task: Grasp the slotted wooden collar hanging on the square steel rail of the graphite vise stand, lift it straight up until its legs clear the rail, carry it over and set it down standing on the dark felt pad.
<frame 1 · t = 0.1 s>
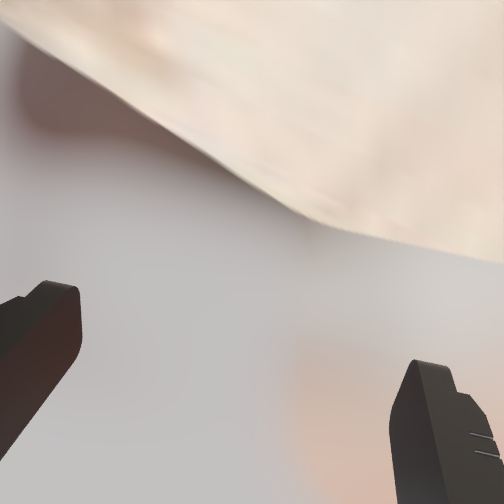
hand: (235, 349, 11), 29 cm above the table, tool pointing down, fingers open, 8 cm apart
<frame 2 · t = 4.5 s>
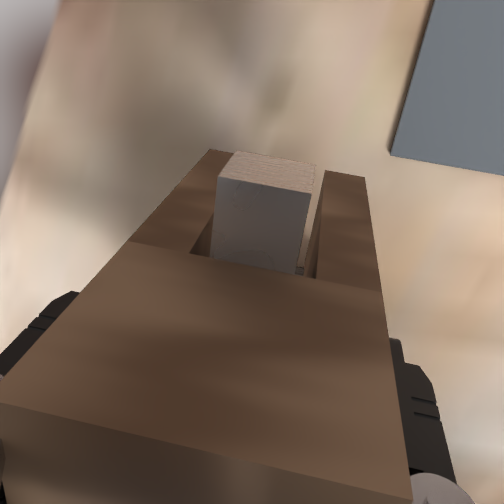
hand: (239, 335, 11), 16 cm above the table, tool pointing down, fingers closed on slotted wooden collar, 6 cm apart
felt pad: (495, 88, 22), on the table
slotted wooden collar: (277, 210, 18), point 8 cm above the table, touching gripper, vise stand
vise stand: (265, 313, 31), on the table
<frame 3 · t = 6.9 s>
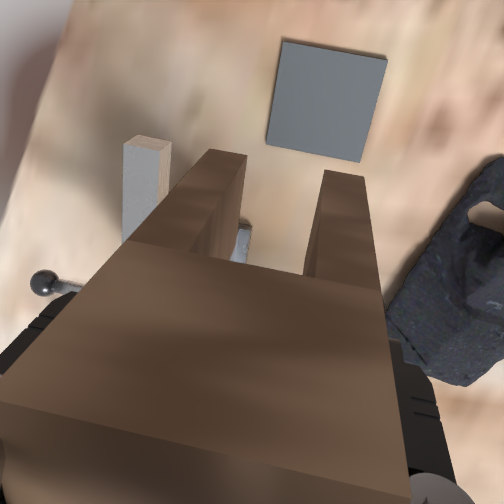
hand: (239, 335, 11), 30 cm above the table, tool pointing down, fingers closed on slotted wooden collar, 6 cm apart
dark slate chunk: (480, 281, 43), on the table
felt pad: (323, 104, 37), on the table
slotted wooden collar: (277, 209, 18), point 21 cm above the table, touching gripper
vise stand: (196, 251, 45), on the table
when the fingers open (9 cm above the table, at t = 10.4 s): slotted wooden collar stays where it is, resting on felt pad.
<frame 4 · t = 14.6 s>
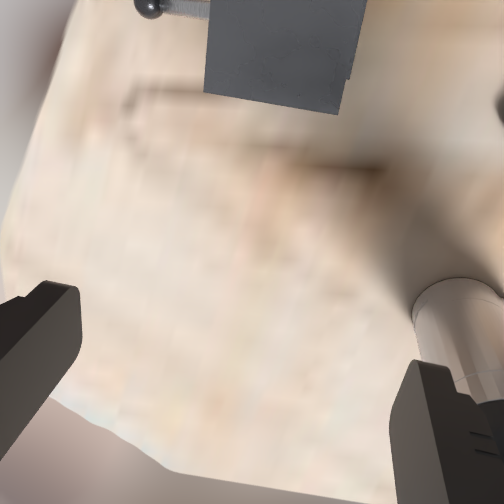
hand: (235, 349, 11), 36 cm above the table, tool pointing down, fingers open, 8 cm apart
vise stand: (302, 20, 40), on the table
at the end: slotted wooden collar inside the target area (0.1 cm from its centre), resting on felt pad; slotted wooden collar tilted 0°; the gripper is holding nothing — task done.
